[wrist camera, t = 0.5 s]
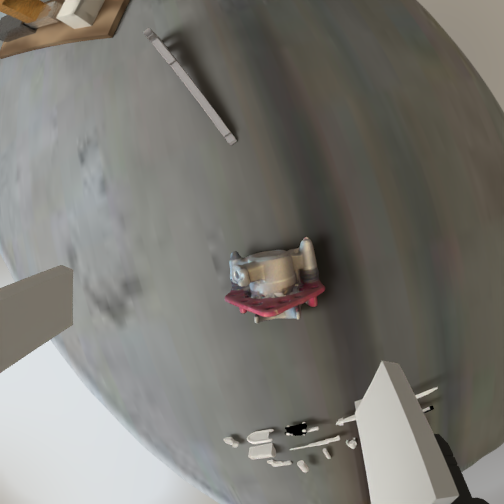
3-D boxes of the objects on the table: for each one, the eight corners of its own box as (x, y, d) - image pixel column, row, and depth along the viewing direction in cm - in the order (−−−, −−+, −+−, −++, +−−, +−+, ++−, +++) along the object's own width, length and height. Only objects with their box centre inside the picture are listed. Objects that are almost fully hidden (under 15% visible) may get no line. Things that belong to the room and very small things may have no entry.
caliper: (156, 45, 35) (137, 27, 29) (162, 40, 35) (144, 22, 28) (231, 146, 36) (219, 137, 30) (238, 141, 36) (227, 131, 30)
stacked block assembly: (8, 26, 34) (-30, 12, 21) (66, 6, 32) (23, -21, 19) (1, 41, 35) (-38, 28, 22) (58, 23, 33) (12, -2, 20)
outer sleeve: (15, 23, 34) (1, 17, 30) (45, 13, 33) (30, 5, 29) (6, 42, 36) (-8, 37, 31) (35, 33, 35) (19, 26, 30)
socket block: (91, -5, 32) (74, -17, 27) (109, -8, 32) (93, -22, 26) (74, 29, 34) (56, 18, 28) (92, 26, 33) (73, 13, 28)
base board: (21, 15, 35) (17, 13, 34) (138, -17, 32) (134, -21, 31) (1, 58, 38) (-3, 57, 36) (112, 37, 35) (107, 34, 33)
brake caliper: (238, 341, 38) (207, 318, 28) (236, 264, 43) (210, 218, 33) (327, 332, 36) (331, 305, 26) (317, 254, 42) (315, 203, 31)
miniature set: (431, 368, 37) (434, 411, 40) (226, 425, 46) (255, 458, 49) (444, 397, 31) (443, 437, 34) (219, 454, 40) (251, 484, 44)
